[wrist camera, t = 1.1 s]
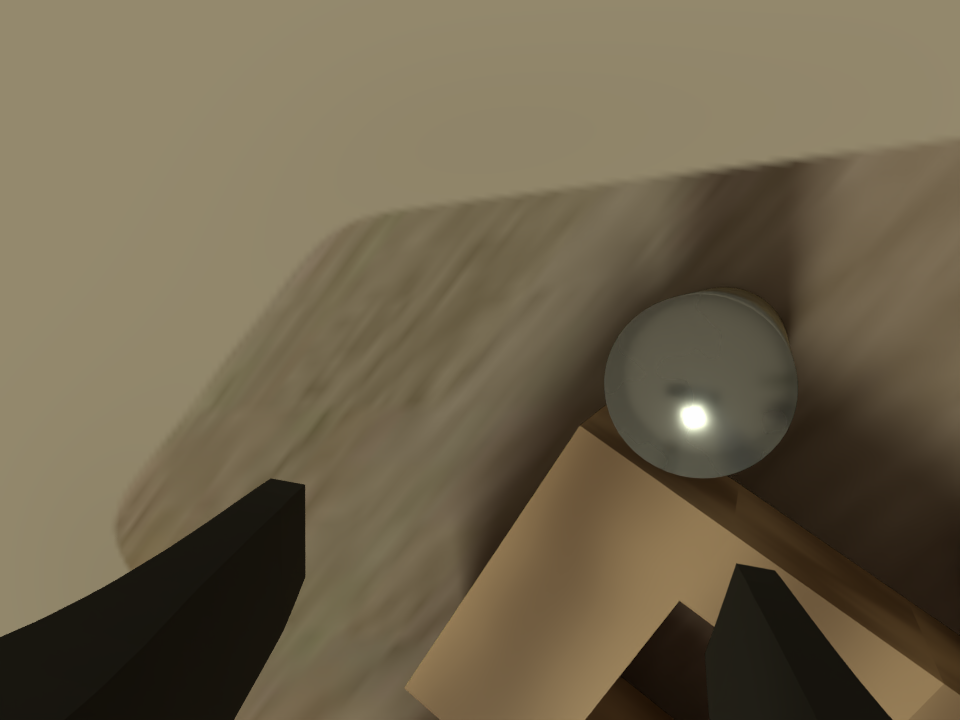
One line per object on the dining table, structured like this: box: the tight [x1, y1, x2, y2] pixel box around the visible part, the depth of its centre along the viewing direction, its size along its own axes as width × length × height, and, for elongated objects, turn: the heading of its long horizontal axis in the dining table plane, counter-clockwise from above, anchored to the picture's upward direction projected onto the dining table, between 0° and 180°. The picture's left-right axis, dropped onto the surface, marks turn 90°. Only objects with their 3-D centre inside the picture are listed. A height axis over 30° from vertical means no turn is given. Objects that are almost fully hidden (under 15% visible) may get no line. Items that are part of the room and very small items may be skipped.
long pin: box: [604, 287, 798, 478], centre depth 20 cm, size 4×4×9 cm
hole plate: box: [405, 404, 960, 720], centre depth 22 cm, size 16×11×5 cm
